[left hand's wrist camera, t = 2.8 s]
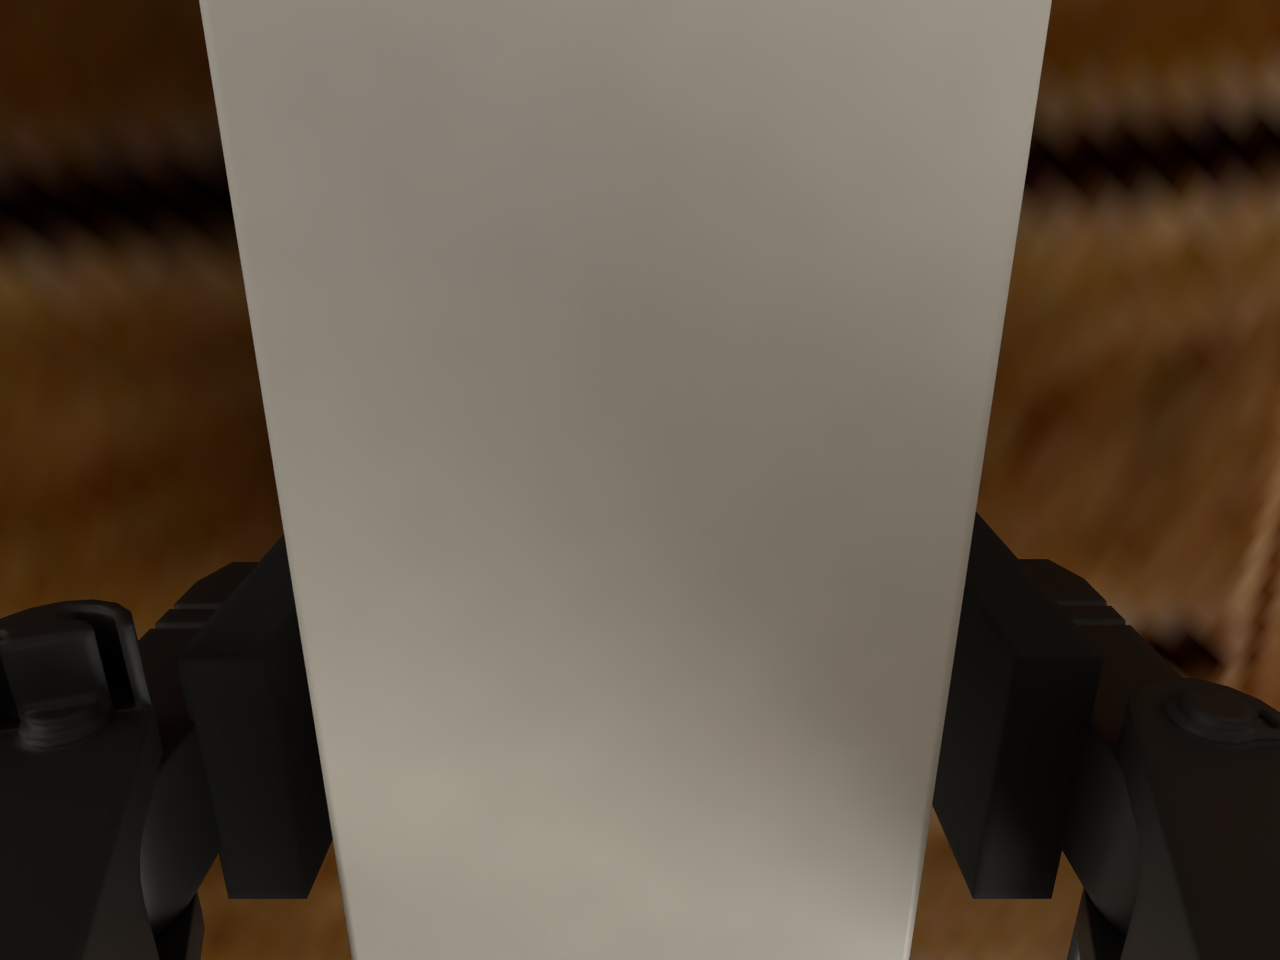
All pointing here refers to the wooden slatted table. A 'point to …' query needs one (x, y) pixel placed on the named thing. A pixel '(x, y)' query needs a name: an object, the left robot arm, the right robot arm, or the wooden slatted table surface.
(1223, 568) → the wooden slatted table surface
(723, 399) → the bar
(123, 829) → the left robot arm
